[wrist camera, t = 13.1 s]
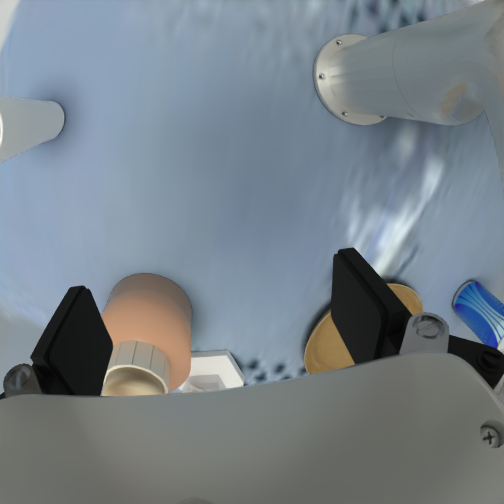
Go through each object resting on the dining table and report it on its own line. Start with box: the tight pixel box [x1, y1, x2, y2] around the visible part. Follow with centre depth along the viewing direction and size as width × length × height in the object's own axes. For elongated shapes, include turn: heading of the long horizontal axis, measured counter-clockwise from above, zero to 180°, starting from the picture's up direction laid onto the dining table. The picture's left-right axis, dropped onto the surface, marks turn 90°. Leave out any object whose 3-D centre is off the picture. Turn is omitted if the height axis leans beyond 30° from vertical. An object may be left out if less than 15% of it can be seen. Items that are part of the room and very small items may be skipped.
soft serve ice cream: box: [178, 350, 245, 393], centre depth 46 cm, size 12×15×14 cm
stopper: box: [102, 367, 165, 396], centre depth 31 cm, size 7×7×6 cm
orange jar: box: [101, 273, 192, 394], centre depth 37 cm, size 13×13×15 cm
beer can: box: [453, 281, 504, 352], centre depth 46 cm, size 8×8×16 cm
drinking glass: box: [0, 96, 65, 163], centre depth 23 cm, size 7×7×15 cm
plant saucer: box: [304, 283, 424, 375], centre depth 51 cm, size 24×24×3 cm
